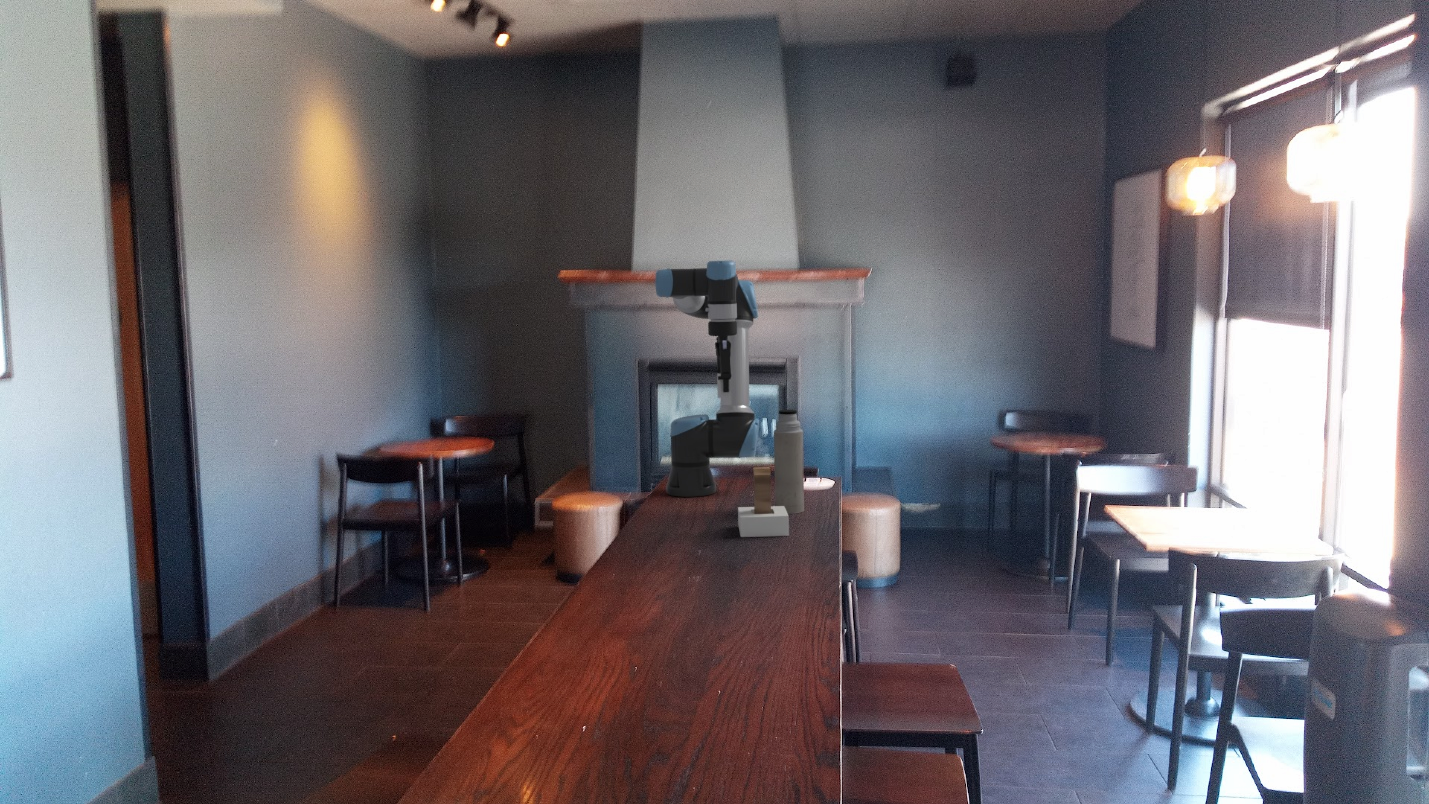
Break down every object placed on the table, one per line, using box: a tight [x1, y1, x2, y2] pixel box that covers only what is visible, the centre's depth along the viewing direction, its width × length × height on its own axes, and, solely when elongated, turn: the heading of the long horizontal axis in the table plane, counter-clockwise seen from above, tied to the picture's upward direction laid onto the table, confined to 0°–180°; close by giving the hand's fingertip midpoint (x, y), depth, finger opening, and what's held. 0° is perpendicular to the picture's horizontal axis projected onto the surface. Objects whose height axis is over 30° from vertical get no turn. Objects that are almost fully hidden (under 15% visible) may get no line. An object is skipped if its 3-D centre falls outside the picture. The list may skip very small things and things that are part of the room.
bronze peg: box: [752, 466, 772, 514], centre depth 268 cm, size 4×4×16 cm
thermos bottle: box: [773, 409, 805, 515], centre depth 291 cm, size 8×8×28 cm
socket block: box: [737, 505, 790, 538], centre depth 269 cm, size 12×12×5 cm
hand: (724, 401), depth 279 cm, fingers open, 13 cm apart
